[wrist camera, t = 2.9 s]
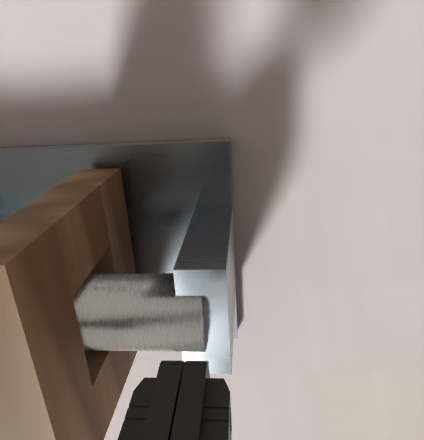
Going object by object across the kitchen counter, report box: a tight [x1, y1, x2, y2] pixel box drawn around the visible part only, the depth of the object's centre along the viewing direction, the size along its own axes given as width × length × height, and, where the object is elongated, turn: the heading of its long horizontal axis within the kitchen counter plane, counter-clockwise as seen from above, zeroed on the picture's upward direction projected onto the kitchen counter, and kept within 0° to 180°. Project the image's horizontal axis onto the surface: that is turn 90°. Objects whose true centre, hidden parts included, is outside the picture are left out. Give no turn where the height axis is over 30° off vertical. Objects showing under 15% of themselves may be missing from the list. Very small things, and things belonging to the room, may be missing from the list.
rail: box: [0, 138, 238, 374], centre depth 19 cm, size 22×12×8 cm, turn 93°
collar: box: [0, 168, 137, 440], centre depth 17 cm, size 2×10×10 cm, turn 3°
